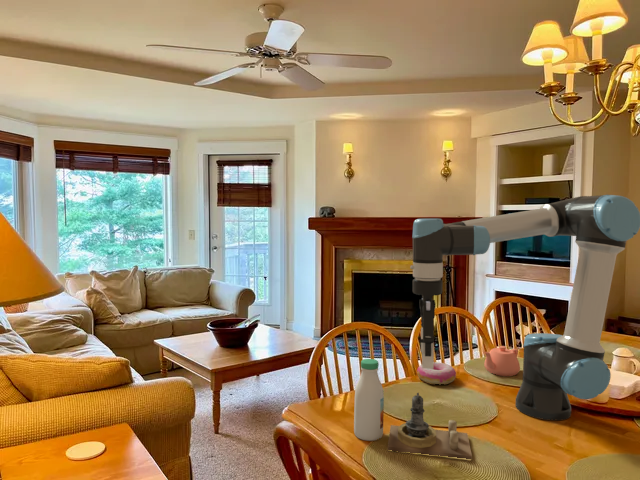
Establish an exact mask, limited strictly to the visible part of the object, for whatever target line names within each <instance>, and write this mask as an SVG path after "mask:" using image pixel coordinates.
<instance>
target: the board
mask: <svg viewBox="0 0 640 480" xmlns="http://www.w3.org/2000/svg"><path fill="white" fill-rule="evenodd" d="M457 425H458V424H457V421H456V420H454V419H449V420H448V430H441V429H440V430H439V429H435V428H434V427H432V426H431V425H429V428H428V429H427V432H426V434H424V435H425V436H426V437H425V438H415V437H411V436H408V434H410V433H409V432H408V430H407V426H406V422H405V423H402V424H401V425H395V424H394V425H393V424H391V425H390V428H389V435H388V440H387V441H388V442H387V451H388V450H392V451H398V452H410V453H421V454H429V455H438V456H439V455H440V456H448V457H457V458H466V459H472V460H473V453H472V451H471V450H472V449H471V446H470V445H471V444H470V440H469V435H468V432H459V431H458V430H457ZM398 452H397V453H398Z"/></svg>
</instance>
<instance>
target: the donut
mask: <svg viewBox="0 0 640 480" xmlns="http://www.w3.org/2000/svg"><path fill="white" fill-rule="evenodd" d="M416 372H417V376H418V378H419V379H420V380H421V381H423V382H424V383H427V384H430V383H431V385H435V384H439V386H442V385H441V384H444V385H448V384H450V383H452V382H454V381H455V380H456V377H457V372H456V370H455V368H454V367H453V366H451V365H450V364H447V363H443V362H437V361H435V362H434V364H433V369H425V368H422V364H420V365H419V366H418V367H417V370H416Z"/></svg>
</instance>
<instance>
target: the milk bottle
mask: <svg viewBox="0 0 640 480" xmlns="http://www.w3.org/2000/svg"><path fill="white" fill-rule="evenodd" d="M379 365H380V364H379V360H377V359H374V358H365V359H362V360H361V361H360V370H361V374H360V376H359V379H358V381H357V383H356V385H355V391H354V410H353V411H354V412H353V416H354V417H353V418H354V419H353V432H354V435H355V437H356V438H357V439H359V440H362V441H368V442H369V441H370V442H373V441H378V440H380V439H381V438H382V437H383V436H384V413H385V411H384V410H385V406H384V405H385V401H384V399H385V398H384V388H383V385H382V383H381V379H380V377H379V373H378V371H379ZM379 438H380V439H379ZM377 439H378V440H377Z"/></svg>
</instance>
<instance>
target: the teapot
mask: <svg viewBox="0 0 640 480" xmlns="http://www.w3.org/2000/svg"><path fill="white" fill-rule="evenodd" d="M484 353H485V360H484V364H483V365H484V368H485V370H486V371H487V372H488V371H489V372H488V373H491V374H492V373H493V374H492V375H495V374H496V376H499V377H513V375H514V376H516V375H517V374H519V373H520V370H521V365H520V361H519V358H518V354H519V350H518V349H517V348H512V349H508V348H507V347H506V346H505V345H500V346H498V347H494V348H491V349H490V351H489V352H488V351H484Z"/></svg>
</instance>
